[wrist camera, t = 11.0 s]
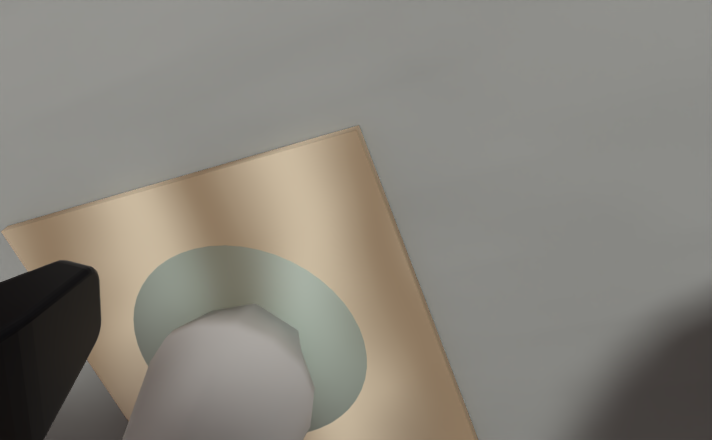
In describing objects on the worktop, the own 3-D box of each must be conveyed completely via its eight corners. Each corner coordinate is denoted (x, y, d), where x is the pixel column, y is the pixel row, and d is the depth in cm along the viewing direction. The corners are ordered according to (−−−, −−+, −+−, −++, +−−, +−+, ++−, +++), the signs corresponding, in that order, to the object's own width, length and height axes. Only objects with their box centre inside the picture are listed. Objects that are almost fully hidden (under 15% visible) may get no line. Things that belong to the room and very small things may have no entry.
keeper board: (358, 125, 20) (356, 130, 20) (482, 451, 26) (482, 460, 26) (8, 226, 25) (0, 231, 24) (179, 485, 30) (176, 493, 30)
